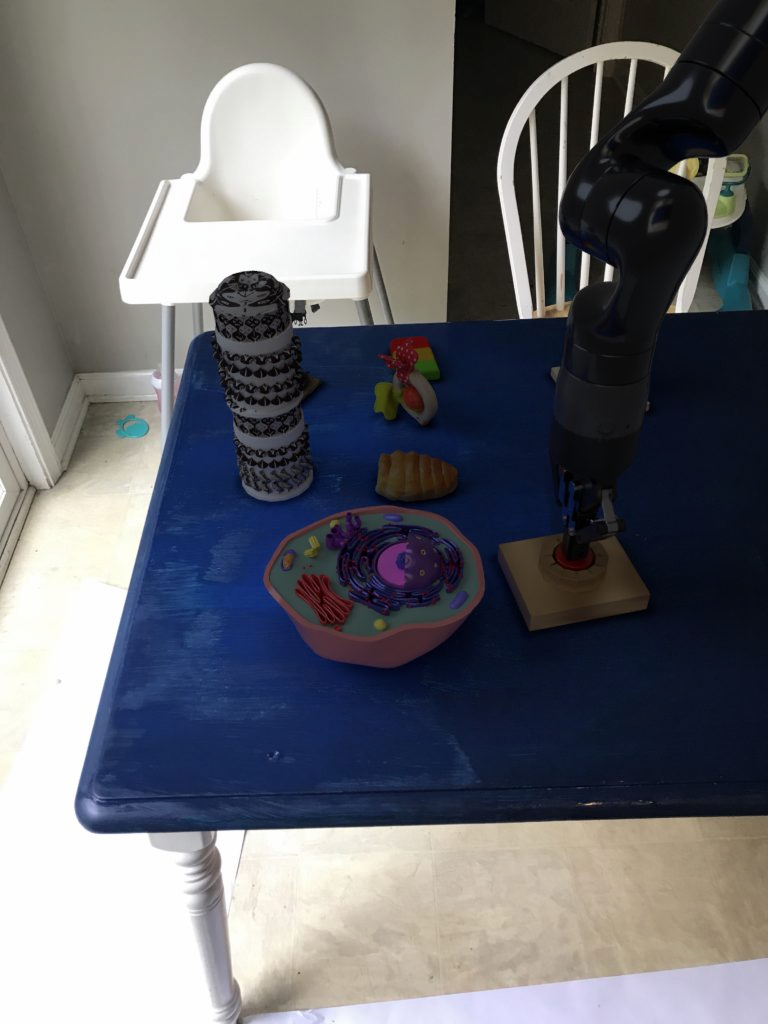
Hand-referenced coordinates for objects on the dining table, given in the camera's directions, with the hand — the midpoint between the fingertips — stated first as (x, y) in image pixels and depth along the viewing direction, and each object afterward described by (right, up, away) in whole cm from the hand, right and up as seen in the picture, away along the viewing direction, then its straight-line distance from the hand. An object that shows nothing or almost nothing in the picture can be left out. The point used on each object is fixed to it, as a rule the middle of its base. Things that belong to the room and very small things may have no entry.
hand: (573, 554), depth 81 cm
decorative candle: (-31, +8, +17) cm, 36 cm away
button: (0, -1, +1) cm, 2 cm away
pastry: (-15, +7, +15) cm, 23 cm away
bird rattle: (-15, +16, +25) cm, 34 cm away
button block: (0, -3, +3) cm, 4 cm away
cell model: (-19, -7, 0) cm, 20 cm away
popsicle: (-14, +23, +32) cm, 42 cm away
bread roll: (-33, +21, +31) cm, 50 cm away
